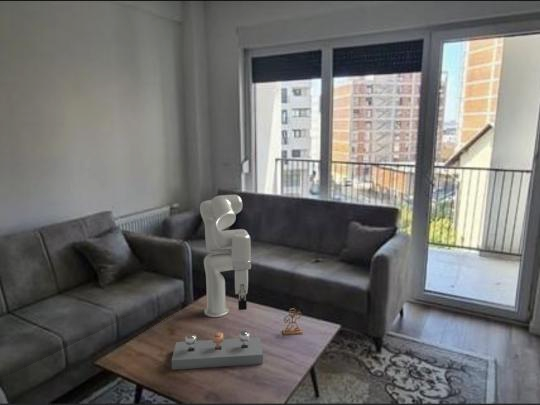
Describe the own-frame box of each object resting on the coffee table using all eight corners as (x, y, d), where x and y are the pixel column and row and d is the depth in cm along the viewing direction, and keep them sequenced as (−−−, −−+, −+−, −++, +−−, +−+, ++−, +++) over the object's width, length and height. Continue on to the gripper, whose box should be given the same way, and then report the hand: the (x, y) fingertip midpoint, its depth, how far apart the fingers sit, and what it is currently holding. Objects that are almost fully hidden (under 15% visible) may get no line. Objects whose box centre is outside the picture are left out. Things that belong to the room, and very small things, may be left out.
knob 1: (186, 346, 164) (185, 333, 163) (197, 346, 164) (196, 332, 163) (185, 352, 159) (184, 338, 158) (196, 351, 160) (195, 338, 159)
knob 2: (239, 343, 166) (238, 330, 165) (249, 343, 166) (249, 329, 165) (239, 349, 162) (239, 335, 161) (250, 348, 162) (250, 335, 161)
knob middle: (212, 345, 165) (212, 331, 164) (223, 344, 165) (223, 331, 164) (212, 350, 160) (212, 337, 160) (223, 350, 161) (223, 336, 160)
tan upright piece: (283, 335, 181) (283, 310, 179) (282, 331, 185) (282, 307, 183) (302, 334, 182) (302, 309, 180) (301, 330, 186) (301, 306, 184)
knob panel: (176, 350, 169) (176, 342, 168) (260, 345, 172) (260, 337, 172) (172, 369, 155) (171, 360, 154) (262, 363, 159) (262, 354, 158)
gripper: (232, 258, 166) (233, 296, 169) (231, 271, 149) (232, 314, 152) (250, 257, 167) (250, 295, 169) (251, 270, 150) (252, 313, 152)
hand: (242, 304), depth 161 cm, fingers open, 9 cm apart
